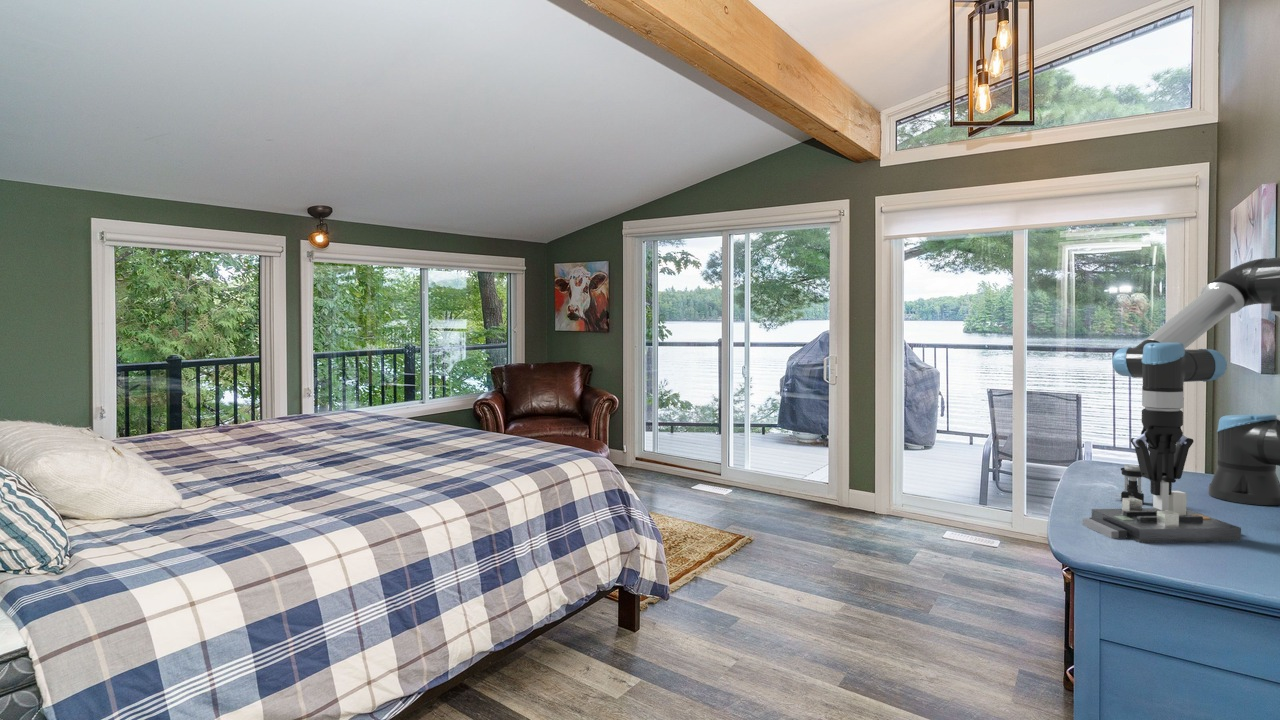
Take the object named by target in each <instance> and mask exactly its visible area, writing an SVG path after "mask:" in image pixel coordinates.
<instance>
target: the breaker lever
mask: <svg viewBox="0 0 1280 720" xmlns="http://www.w3.org/2000/svg"><path fill="white" fill-rule="evenodd" d="M1171 491H1172V493H1171V495H1169V506H1168V510H1165V511H1173V512H1176V513H1178V514H1179V516H1185V515H1186V509H1188V508H1187V505H1188V504H1187V499H1188V494H1187V492H1184V491H1180V490H1171Z"/></svg>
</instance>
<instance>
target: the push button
mask: <svg viewBox="0 0 1280 720" xmlns="http://www.w3.org/2000/svg"><path fill="white" fill-rule="evenodd" d="M1120 470H1121V475H1122V476H1124V487H1123V491H1121V493H1120V494H1116V493H1114V496H1119V497H1115V499H1117V500H1121V502H1122V498H1137V499H1139V500H1142V505H1143V504H1144V503H1145V494H1144V492H1143V490H1142V478H1143V477H1142V476H1141V472H1140V467H1139V464H1125V465H1124V466H1123V467H1120Z"/></svg>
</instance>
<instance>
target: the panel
mask: <svg viewBox="0 0 1280 720" xmlns="http://www.w3.org/2000/svg"><path fill="white" fill-rule="evenodd" d="M1093 517H1097V518H1099V519H1102V520H1104V521H1106V522H1109V523H1111V524H1113V525H1115V526H1118V527H1120V528H1122V529H1125V530H1127V538H1129V539H1131V540H1133V541H1136V542H1137V543H1139V544H1140V543H1142V544H1143V543H1198V542H1199V543H1201V542H1203V543H1206V542H1207V543H1208V542H1216V543H1217V542H1241V541H1242V527H1239V526H1236V525H1234V524H1230V523H1228V522H1226V521H1222V520H1219V519H1218V518H1214V517H1211V516H1208V515H1205V514H1202V513H1199V512H1196V511H1193V510H1190V509H1188V508H1187V509H1186V515H1185V516H1179V514H1178V513H1176V512H1173V511H1165V510H1160V509H1157V508H1154V507H1143V504H1142V500H1139V499H1137V498H1122V501H1121V508H1092V509H1091V518H1093Z"/></svg>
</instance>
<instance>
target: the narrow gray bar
mask: <svg viewBox="0 0 1280 720" xmlns="http://www.w3.org/2000/svg"><path fill="white" fill-rule="evenodd" d="M1082 526H1084V527H1086V528H1087V529H1088V528H1089V529H1090V530H1093V531H1095V532H1097V533H1099V534H1101V535H1104V536H1106V537H1108V538H1109V539H1127V538H1128V537H1127V530H1125V529H1122V528H1120V527H1118V526H1115V525H1113V524H1111V523H1109V522H1106V521H1104V520H1102V519H1099V518H1097V517H1093V518H1092V517H1089V518H1087V517H1086V518H1082Z"/></svg>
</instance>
